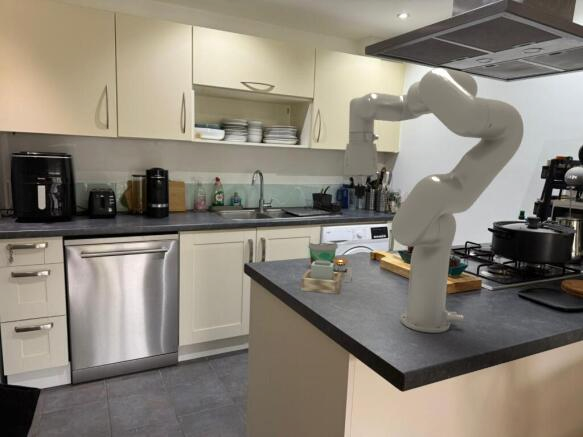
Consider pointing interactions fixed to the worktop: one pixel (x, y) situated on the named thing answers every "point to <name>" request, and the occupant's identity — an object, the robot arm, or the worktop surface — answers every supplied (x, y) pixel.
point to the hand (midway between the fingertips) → (359, 198)
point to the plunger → (340, 264)
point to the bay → (321, 283)
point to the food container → (322, 251)
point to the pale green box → (322, 270)
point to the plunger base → (346, 275)
